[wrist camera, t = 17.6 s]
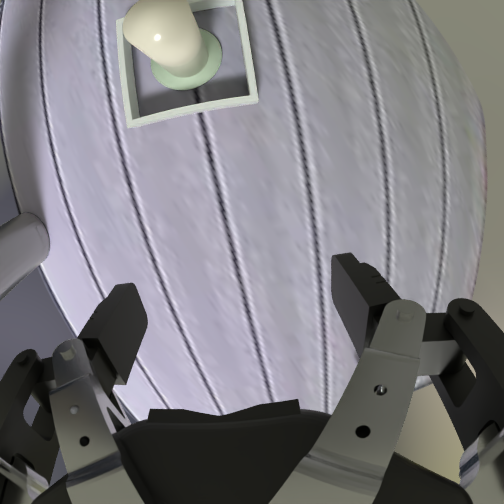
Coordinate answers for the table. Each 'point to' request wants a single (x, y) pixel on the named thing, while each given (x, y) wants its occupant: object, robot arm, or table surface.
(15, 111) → the table surface
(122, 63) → the square picture frame
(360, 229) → the table surface
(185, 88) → the pad
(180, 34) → the canister
